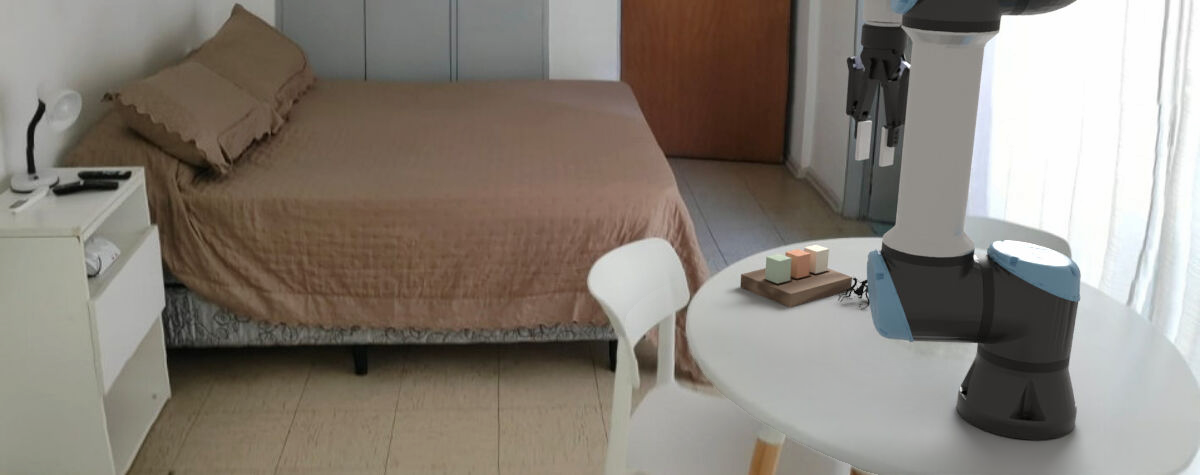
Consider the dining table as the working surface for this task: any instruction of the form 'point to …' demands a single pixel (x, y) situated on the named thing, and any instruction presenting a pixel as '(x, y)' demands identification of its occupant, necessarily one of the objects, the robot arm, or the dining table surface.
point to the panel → (797, 286)
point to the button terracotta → (799, 263)
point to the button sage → (778, 268)
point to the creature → (857, 291)
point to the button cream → (817, 258)
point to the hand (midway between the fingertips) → (873, 161)
